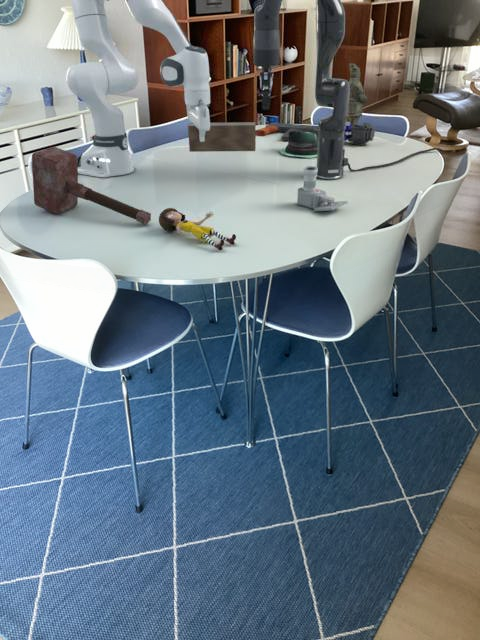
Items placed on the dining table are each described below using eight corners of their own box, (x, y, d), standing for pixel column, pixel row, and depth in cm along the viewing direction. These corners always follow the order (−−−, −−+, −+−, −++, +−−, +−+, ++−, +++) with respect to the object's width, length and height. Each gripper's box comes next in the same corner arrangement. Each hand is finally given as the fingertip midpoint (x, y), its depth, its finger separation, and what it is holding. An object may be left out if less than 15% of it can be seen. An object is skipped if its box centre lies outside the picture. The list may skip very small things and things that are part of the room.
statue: (367, 132, 266) (374, 63, 251) (349, 133, 264) (355, 64, 249) (357, 127, 275) (362, 61, 260) (339, 129, 273) (344, 62, 258)
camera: (310, 163, 175) (350, 172, 167) (308, 199, 181) (347, 209, 173) (293, 169, 170) (334, 178, 161) (291, 206, 176) (331, 217, 167)
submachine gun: (248, 131, 260) (271, 121, 279) (248, 137, 261) (271, 127, 280) (310, 137, 246) (331, 126, 265) (310, 144, 248) (330, 132, 266)
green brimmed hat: (332, 145, 241) (326, 158, 224) (294, 164, 249) (286, 177, 233) (317, 113, 235) (310, 124, 219) (279, 133, 244) (269, 145, 228)
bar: (189, 151, 200) (187, 125, 196) (191, 148, 205) (189, 122, 200) (255, 151, 199) (255, 125, 194) (255, 147, 203) (255, 122, 199)
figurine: (212, 239, 141) (145, 208, 153) (211, 265, 145) (145, 233, 157) (245, 224, 150) (179, 196, 162) (243, 249, 154) (178, 220, 166)
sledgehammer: (159, 186, 162) (53, 145, 173) (139, 196, 154) (29, 152, 166) (154, 239, 172) (54, 196, 183) (135, 250, 164) (32, 205, 176)
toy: (345, 120, 249) (377, 123, 242) (343, 139, 253) (375, 143, 246) (337, 123, 243) (369, 127, 236) (336, 143, 247) (367, 147, 240)
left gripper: (213, 102, 185) (215, 144, 193) (199, 93, 202) (201, 132, 209) (195, 103, 184) (197, 146, 191) (182, 94, 201) (185, 133, 208)
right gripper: (279, 49, 152) (278, 111, 161) (279, 45, 165) (279, 102, 173) (252, 49, 153) (252, 111, 161) (254, 45, 165) (254, 103, 173)
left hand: (199, 138), depth 200 cm, fingers closed on bar, 6 cm apart
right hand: (266, 107), depth 167 cm, fingers open, 8 cm apart
